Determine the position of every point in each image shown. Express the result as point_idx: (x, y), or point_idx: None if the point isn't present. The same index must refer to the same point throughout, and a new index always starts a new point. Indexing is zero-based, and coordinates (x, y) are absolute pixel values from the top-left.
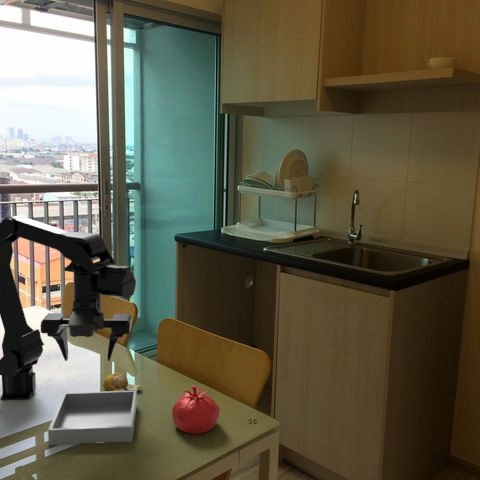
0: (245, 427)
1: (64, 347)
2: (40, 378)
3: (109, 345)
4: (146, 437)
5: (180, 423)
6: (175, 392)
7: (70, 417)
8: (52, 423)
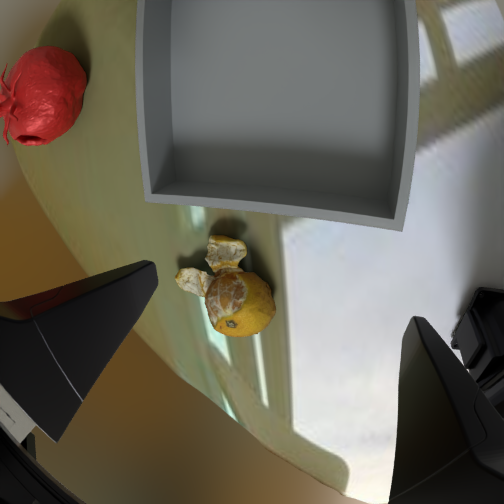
0: None
1: (449, 390)
2: None
3: (59, 302)
4: None
5: (62, 50)
6: (112, 245)
7: (368, 123)
8: None
